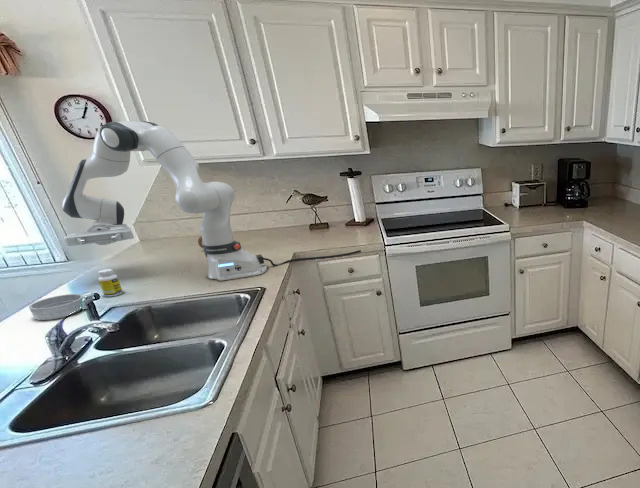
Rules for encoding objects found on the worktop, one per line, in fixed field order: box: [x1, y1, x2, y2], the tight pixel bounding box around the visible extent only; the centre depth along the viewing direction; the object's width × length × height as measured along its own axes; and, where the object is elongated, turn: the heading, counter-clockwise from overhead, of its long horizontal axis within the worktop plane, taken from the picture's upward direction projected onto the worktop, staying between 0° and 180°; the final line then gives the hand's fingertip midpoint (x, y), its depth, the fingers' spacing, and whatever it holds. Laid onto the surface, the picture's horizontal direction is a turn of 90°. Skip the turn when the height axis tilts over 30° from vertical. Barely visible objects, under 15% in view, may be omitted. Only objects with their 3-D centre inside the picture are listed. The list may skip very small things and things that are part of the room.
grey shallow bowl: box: [28, 293, 84, 321], centre depth 143 cm, size 13×13×4 cm
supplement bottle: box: [97, 268, 124, 298], centre depth 158 cm, size 5×5×10 cm
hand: (98, 240), depth 161 cm, fingers open, 8 cm apart
